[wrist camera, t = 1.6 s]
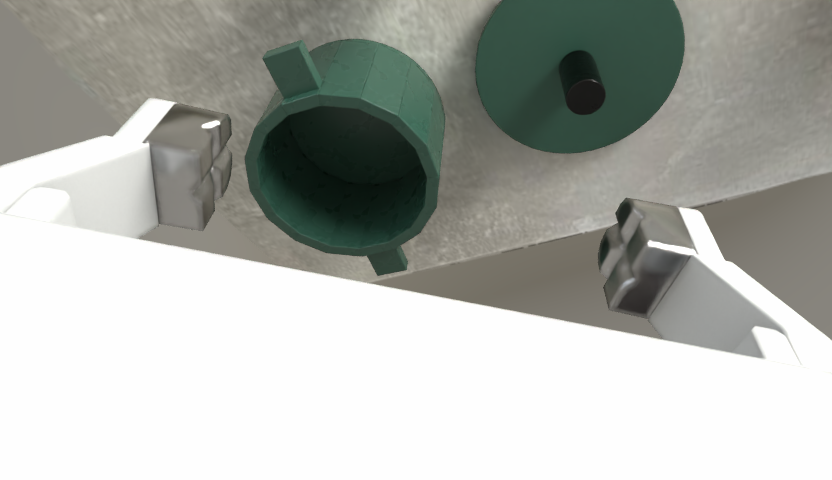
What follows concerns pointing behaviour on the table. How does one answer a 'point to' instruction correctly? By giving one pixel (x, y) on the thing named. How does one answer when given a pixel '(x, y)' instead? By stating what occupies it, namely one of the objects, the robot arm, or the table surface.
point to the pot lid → (577, 69)
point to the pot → (348, 149)
